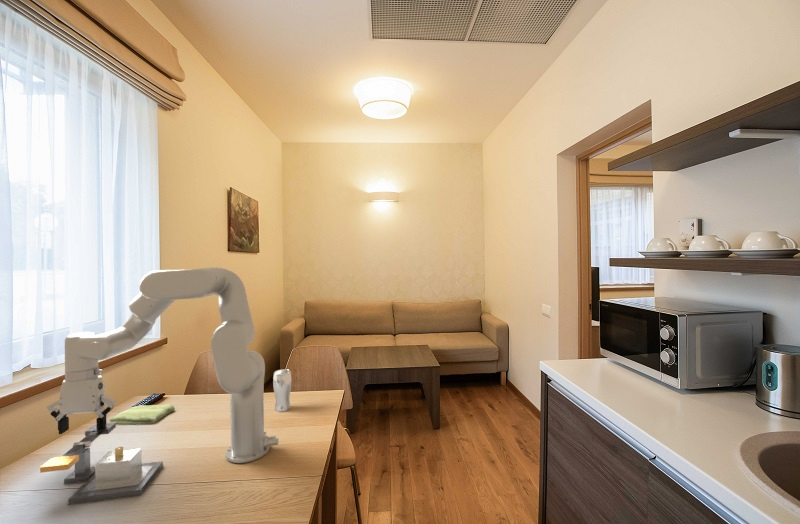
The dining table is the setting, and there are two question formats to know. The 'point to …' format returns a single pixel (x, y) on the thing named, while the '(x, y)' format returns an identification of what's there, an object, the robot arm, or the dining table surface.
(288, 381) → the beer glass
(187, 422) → the dining table surface
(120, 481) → the block
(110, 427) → the press lever
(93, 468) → the press bed
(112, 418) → the washcloth
